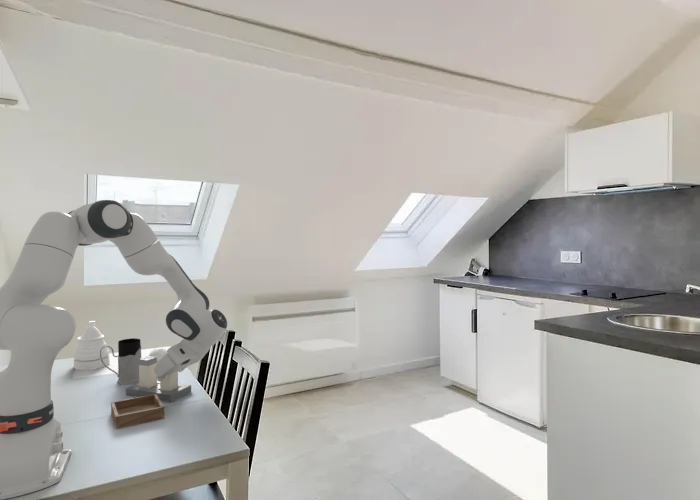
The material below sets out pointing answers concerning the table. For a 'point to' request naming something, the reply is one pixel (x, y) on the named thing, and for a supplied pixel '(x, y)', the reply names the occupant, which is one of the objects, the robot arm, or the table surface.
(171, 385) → the block
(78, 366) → the honey pot
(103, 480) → the table surface
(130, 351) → the grey mug
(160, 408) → the tray
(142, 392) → the fuse block
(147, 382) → the block
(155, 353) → the ball
